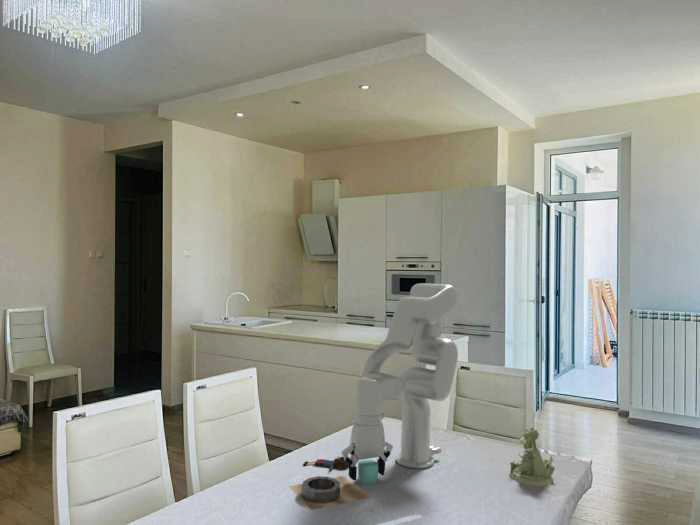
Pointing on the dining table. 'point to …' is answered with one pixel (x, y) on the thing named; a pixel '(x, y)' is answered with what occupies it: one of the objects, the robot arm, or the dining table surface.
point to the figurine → (532, 463)
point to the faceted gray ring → (321, 495)
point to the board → (346, 493)
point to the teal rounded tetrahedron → (368, 472)
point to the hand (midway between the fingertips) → (366, 476)
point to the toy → (329, 463)
